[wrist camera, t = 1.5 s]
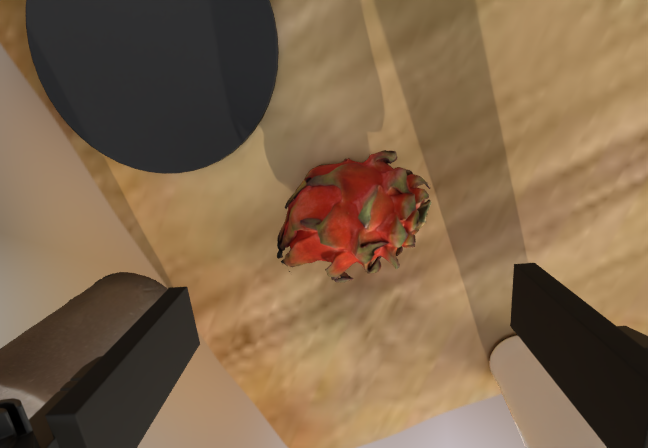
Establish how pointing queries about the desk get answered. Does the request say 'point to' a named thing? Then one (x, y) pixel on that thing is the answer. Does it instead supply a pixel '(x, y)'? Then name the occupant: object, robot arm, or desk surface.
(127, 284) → the pillar candle
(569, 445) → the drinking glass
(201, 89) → the mat
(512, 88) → the desk surface
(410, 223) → the dragon fruit
